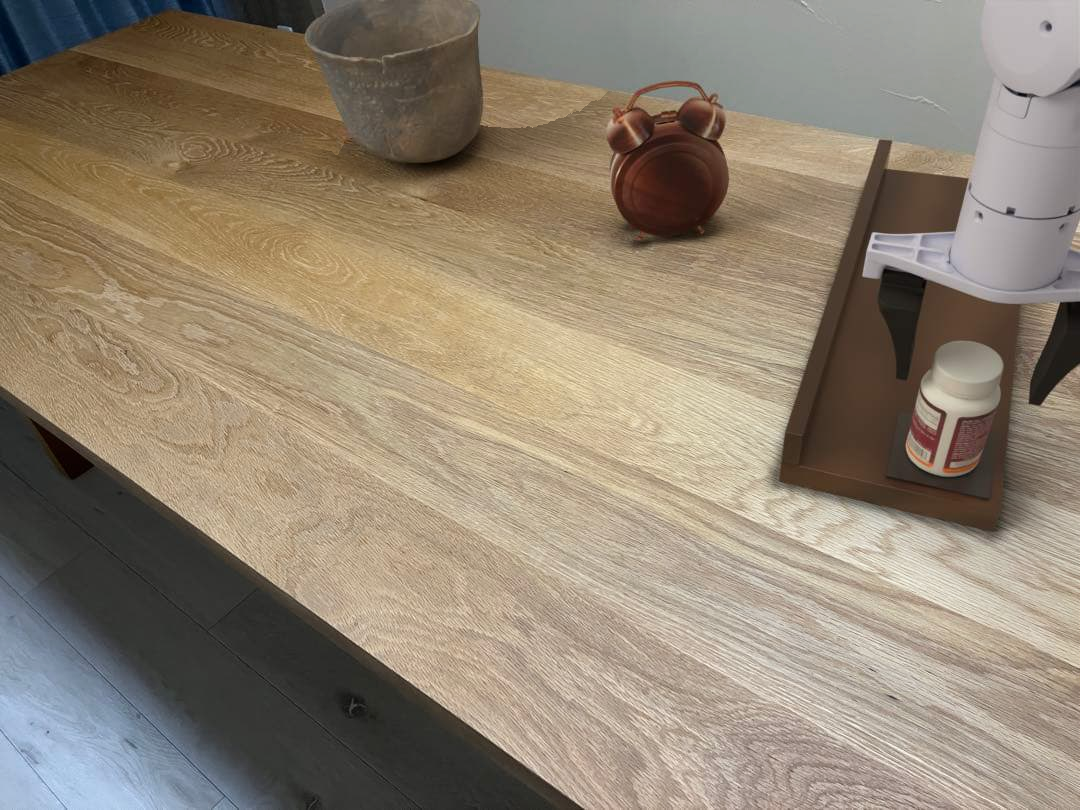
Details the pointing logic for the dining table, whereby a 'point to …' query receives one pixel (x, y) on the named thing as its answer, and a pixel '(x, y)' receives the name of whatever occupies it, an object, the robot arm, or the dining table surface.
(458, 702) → the dining table surface
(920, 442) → the pill bottle
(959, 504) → the shelf
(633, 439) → the dining table surface
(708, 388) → the dining table surface
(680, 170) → the alarm clock
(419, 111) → the bowl
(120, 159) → the dining table surface
